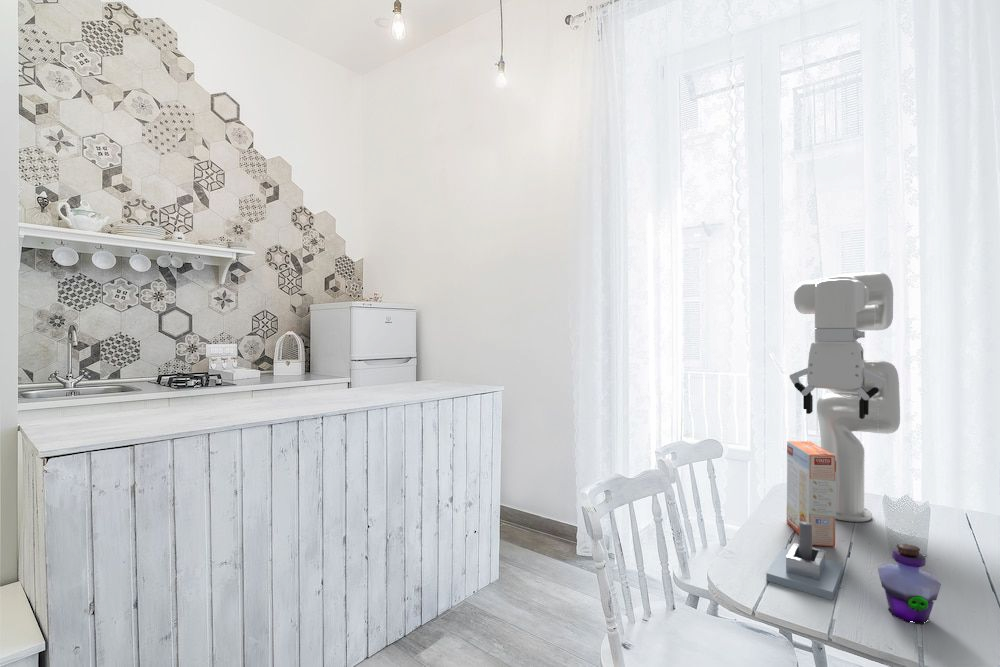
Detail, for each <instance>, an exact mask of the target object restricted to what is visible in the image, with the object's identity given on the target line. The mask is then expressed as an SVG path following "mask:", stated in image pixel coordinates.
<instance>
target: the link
mask: <svg viewBox="0 0 1000 667" xmlns="http://www.w3.org/2000/svg"><path fill="white" fill-rule="evenodd" d="M789 550H790V551H789V553H788V554H787V556H786V572H788V573H792V574H796V575H799V576H803V577H807V578H810V579H814V580H818V581H820V578H821V575H822V573H823V570H824V567H825V559H826V550H825V549H822V548H817V547H814V546H812V561H809V560H805V559H801V558H799V543H796V542H793V543H792V545H791V547H790V549H789Z"/></svg>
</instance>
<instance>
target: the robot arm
mask: <svg viewBox="0 0 1000 667" xmlns="http://www.w3.org/2000/svg"><path fill="white" fill-rule="evenodd" d="M794 290H795V291H794V295H793V304H794V307H795V308H796V309H795V310H797V311H798V312H799V313H800V314H802V315H803V314H804V315H813V314H814V342H811V344H810V349H809V352H808V361H807V367H806V368H804V369H802V370H799V371H796V372H793V373H791V374H790V375H789V379H790V380H791V382H792V384H793V386H794V388H796V390H797V391H799V392H800V394H801V395H802V396H803V397H802V398H803V403H802V404H803V405H802V406H803V410H806V411H805V412H806V414H807V415H810V414H812V413H813V411H814V410H813V401H814V399H813V397H814V395H812V391H814V390H815V389H827V390H828V391H830V392H829V393H825V394H822V395H821V396H820V397H819V398H818V400H817V401H816V412H817V418H818V419H817V420H818V424H819V434H820V447H821V448H822V449H824V450H826V451H828V452H830V453H831V454H833V455H835V456H836V501H835V520H839V521H845V522H854V523H855V522H856V523H858V522H867V521H870V520H871V519H872V517H873V515H872V512H871V511H870V510H869V509H868V508H865V448H864V445H863V444H862V442H861V441H860V440H859V438H858V437H856V435H855V434H854V433H853V432H862V433H863V432H864V433H872V434H873V433H875V434H885V435H889V434H893V433H896V432H897V431H898V429H899V427H900V424H901V405H900V404H901V403H900V402H901V401H900V400H901V399H900V398H901V396H900V382H899V381H900V380H899V379H900V377H899V374H898V373H899V372H898V370H897V368H896V366H895V365H894V364H892V363H891V362H888V361H884V360H866V359H865V358H864V353H865V352H864V347H863V346H862V343H860V342H859V341H858V340H859V339H862V338H863V339H864V338H865V336H866V334H865V333H866V332H865V331H882V330H886V329H888V328H889V327H890V326H892V323H893V321H894V320H893V319H894V286H893V283H892V280H891V278H890V277H889V275H888V274H886V273H883V272H877V271H876V272H875V271H874V272H861V273H860V272H857V273H843V274H842V273H841V274H837V275H835V276H830V277H824V278H819V279H817V278H816V279H812V280H804V281H800V282H799V283H798V284H797V286H796V288H795V289H794ZM805 375H807V376H806V378H807V379H806V381H807V382H806V383H807V384H808V385H807V386H805V385H804V384H802V383H801V381H800V378H801V377H804V376H805Z"/></svg>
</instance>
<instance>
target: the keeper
mask: <svg viewBox="0 0 1000 667" xmlns="http://www.w3.org/2000/svg"><path fill="white" fill-rule="evenodd" d="M798 544H799V558H801V559H805V560H809V561H812V547H813V545H812V524H811V523H808V522H799V534H798ZM789 551H790V549H787V548H784V547H783V548H782V549H781V550H780V551H779V553H778V555H777V556H776V557H775V560H774V561H772V562H773V563H772V564H770V567H769V568H768V570H767V571H766V573H765V574H766V576H765V577H766V578H765V579H766V582H770V583H773V584H776V585H780V586H783V587H787V588H791V589H792V590H797V591H800V592H803V593H807V594H811V595H813V596H818V597H820V598H824V599H827V600H830V601H833V600H834V597H835V595H836V592H837V590H838V586H839V583H840V581H841V578H842V576H843V574H844V573H843V572H844V563H843V562H839V561H834V560H830V559H827V558H825V567H824V570H823V573H822V575H821V578H820V581H818V580H814V579H810V578H807V577H803V576H799V575H796V574H792V573H788V572H786V556H787V554H788V553H789Z"/></svg>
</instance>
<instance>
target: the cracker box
mask: <svg viewBox="0 0 1000 667" xmlns="http://www.w3.org/2000/svg"><path fill="white" fill-rule="evenodd" d="M835 501H836V456H835V455H833V454H831V453H830V452H828V451H826V450H824V449H822V448H821V446H819V445H817V444H816V443H814V442H812V441H808V440H807V441H806V440H802V441H801V440H788V441H787V442H786V522H788V523H789V524H788V525H789V526H790V525H791V526H790V527H791V528H792V529H793V530H794V531H795V532H796V533H797V534H798V535H799V522H808V523H811V524H812V546H818V547H819V546H821V547H831V548H832V547H833V548H835V547H836V519H835Z"/></svg>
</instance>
